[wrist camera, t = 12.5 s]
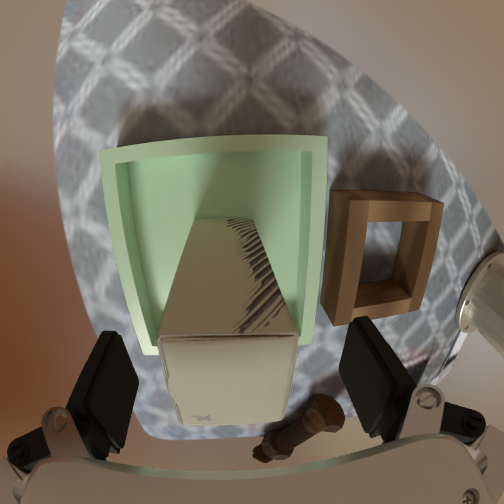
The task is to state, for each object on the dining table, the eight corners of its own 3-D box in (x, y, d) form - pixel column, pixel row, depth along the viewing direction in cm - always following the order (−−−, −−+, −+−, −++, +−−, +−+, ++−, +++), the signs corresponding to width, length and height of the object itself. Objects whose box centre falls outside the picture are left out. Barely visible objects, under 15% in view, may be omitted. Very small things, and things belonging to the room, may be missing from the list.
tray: (312, 136, 18) (327, 136, 15) (302, 322, 24) (311, 343, 22) (115, 148, 17) (99, 150, 14) (149, 332, 23) (143, 354, 20)
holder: (418, 192, 21) (444, 202, 17) (400, 290, 25) (419, 309, 21) (329, 189, 20) (349, 200, 17) (320, 302, 24) (333, 326, 21)
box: (251, 279, 21) (286, 426, 10) (194, 280, 21) (179, 431, 9) (253, 212, 19) (306, 333, 7) (190, 213, 19) (150, 339, 7)
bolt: (253, 435, 36) (318, 385, 31) (277, 451, 35) (346, 405, 30) (239, 460, 30) (311, 413, 26) (266, 476, 29) (343, 434, 25)
